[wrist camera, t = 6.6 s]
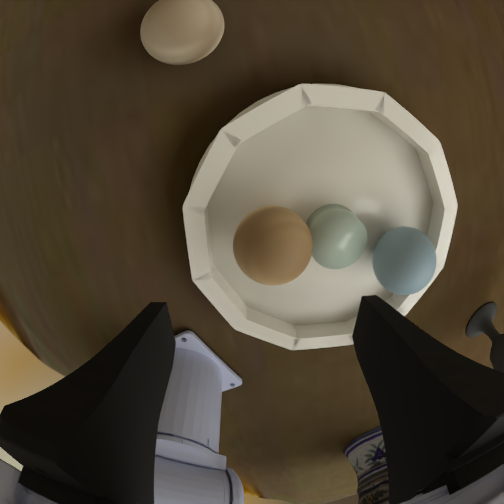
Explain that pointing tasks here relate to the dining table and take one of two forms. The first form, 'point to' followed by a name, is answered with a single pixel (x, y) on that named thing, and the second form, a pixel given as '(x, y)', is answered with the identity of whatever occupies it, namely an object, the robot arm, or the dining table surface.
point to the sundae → (488, 333)
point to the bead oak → (272, 245)
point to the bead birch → (182, 30)
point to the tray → (316, 207)
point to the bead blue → (404, 260)
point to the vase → (370, 466)
